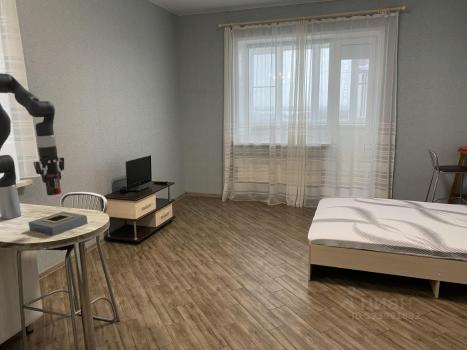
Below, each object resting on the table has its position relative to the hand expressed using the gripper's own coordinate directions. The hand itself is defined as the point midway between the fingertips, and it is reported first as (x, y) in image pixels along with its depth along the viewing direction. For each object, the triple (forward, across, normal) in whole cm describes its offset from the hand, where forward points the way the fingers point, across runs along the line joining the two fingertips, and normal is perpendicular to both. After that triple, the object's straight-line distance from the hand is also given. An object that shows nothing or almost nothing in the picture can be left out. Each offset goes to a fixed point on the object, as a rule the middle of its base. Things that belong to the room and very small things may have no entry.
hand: (52, 181), depth 161 cm
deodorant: (+6, 0, 0) cm, 6 cm away
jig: (+22, 0, 0) cm, 22 cm away
